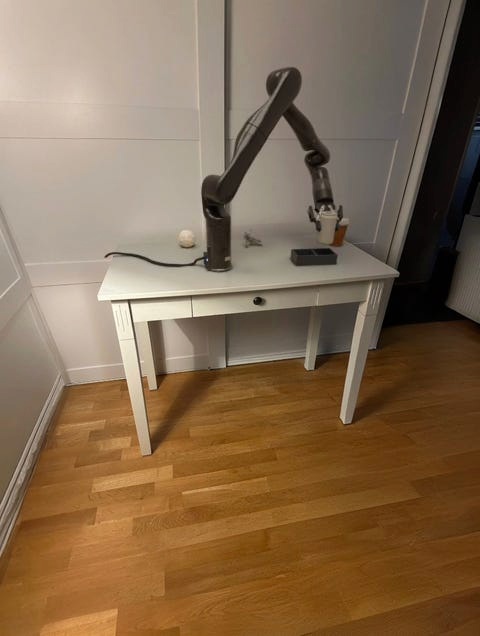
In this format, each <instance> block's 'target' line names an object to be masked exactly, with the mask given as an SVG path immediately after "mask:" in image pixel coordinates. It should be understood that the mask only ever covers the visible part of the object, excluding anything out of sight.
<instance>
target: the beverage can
mask: <svg viewBox="0 0 480 636" xmlns="http://www.w3.org/2000/svg"><path fill="white" fill-rule="evenodd" d="M326 212H327V213H326ZM319 221H320V224H321V231H320V232H318V231H317V237H316V242H317V243H318V244H320V245H322V246H331V245H330V244H331V243H333V239H334V233H335V227H336V221H337V212H336V211H335V212H331V211H324V212H322V214H321V215H320V219H319Z"/></svg>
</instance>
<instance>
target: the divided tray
mask: <svg viewBox="0 0 480 636" xmlns="http://www.w3.org/2000/svg"><path fill="white" fill-rule="evenodd" d="M289 259H290V260H291V262H292V263H293V264H294V266H295V267H304V266H306V267H307V266H326V265H327V266H332V265H333V266H335V265H337V262H338V254H337V253H336V252H335V251H334V250H333V249H332V248H331V247H315V248H314V247H313V248H291V249H290V258H289Z"/></svg>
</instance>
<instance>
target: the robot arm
mask: <svg viewBox="0 0 480 636" xmlns="http://www.w3.org/2000/svg"><path fill="white" fill-rule="evenodd" d="M302 82H303V76H302V73H301V71H300V70H299V68H297V67H295V66H286V67H281V68H278V69H274V70H272V71H271V72H270V73H269V74H268V75H267V77H266V81H265V90H266V94H267V96H268V99H267V101H265V102H264V104H262V105H261V106H260V107H259V108H258V109H257V110H256V111H254V112H253V113H252V114H251V115H250V116H249V117H248V118H247V119H246V120H245V122H244V123H243V125H242V127H241V128H240V130H239V132H238V133H237V135H236V136H235V139H234V144H233V152H232V156H231V160H230V162H229V164H228V166H227V167H226V169H225V171H224V172H223V173H222V174H221V175H220V174H219V175H218V174H208V175H206V176H205V177H204V178H203V180H202V183H201V186H200V197H201V206H202V214H203V217H204V220H205V235H206V239H205V240H206V242H205V243H206V251H203V253H202V255H203V256H201V257H198V258H196V259H194V260H193V262H189V263H169V262H167V263H166V262H160V261H157V260H154V259H151V258H149V257H147V256H144V255H141V254H137V253H131V252H121V251H112V252H108V253H106V254H105V255H104V256H103V258H104V259H107V258H109V257H110V256H112V255H121V256H127V257H128V256H129V257H135V258H140V259H143V260H144V261H147V262H150V263H152V264H155V265H159V266H165V267H190V266H191V267H192V266H194V265H196V264H197V262H199V261H203V265H206V266H207V267H206V268H207V271H212V272H218V273H219V272H227V271H229V270H231V269H232V216H231V214H230V213H229V212H228V210H227V209H226V207H225V206H227V205H229V204H230V203H231V202H232V201H233V200H234V198H235V197H236V195H237V193H238V191H239V189H240V186H241V185H242V183H243V180H244V178H245V177H246V175H247V173H248V171H249V169H250V168H251V166H252V164H253V163H254V161H255V159H256V158H257V156H258V155H259V153H260V152H261V151H262V150H263V149H262V148H263V147H264V146H265V144H266V142H267V141H268V139H269V137H270V135H271V134H272V132H273V131H274V130H275V128H276V126H277V124H278V123H279V122H280V120H281V118H282V117H283V119H284V120H285V121H286V123H287V124H288V126H289V127H290V129H291V131H292V132H293V134H294V136H295V138H296V140H297V142H298V144H299V146H300V148H301V150H302V151H303V152H307V153H306V154H305V155H304V157H303V163H304V166H305V168H306V169H307V172H308V173H309V176H310V180H311V181H310V182H311V192H312V193H311V195H312V198H313V205H314V206H312V205H309V206H308V207H307V210H306V211H307V215H308V219H309V222H310V223H314V226H315V230H316V231H317V233H318V232H320V231H321V224H320V215H321V214H322V212H324V211H331V212H336V213H337V214H336V215H337V221H336V227H335V231H338V229H339V228H340V226H339V222H340V221H341V220H342V219H343V217H344V210H343V205H341V204H340V205H339V206H338V205H336V204H335V202H334V201H335V199H334V194H333V189H332V183H331V181H330V175H329V171H328V168H327V167H325V165H327V164H328V163H330V160H331V153H330V150H329V149H328V147H327V146H326V145H325V144H324V143H323V142H322V141H321V140H320V138H319V136H318V135H317V133H316V130H315V128H314V126H313V124H312V122H311V121H310V120H309V118H308V117H307V116H306V115H305V114H304V113H303V112H302V111H301V110H300V109H299V108H298V107H297V105H295V103H294V101H295V100H296V99H297V97H298V95H299V93H300V91H301V88H302ZM315 213H316V214H317V215H316V217H315ZM326 213H327V212H326Z"/></svg>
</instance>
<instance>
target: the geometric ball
mask: <svg viewBox="0 0 480 636" xmlns="http://www.w3.org/2000/svg"><path fill="white" fill-rule="evenodd" d="M177 239H178V243H179V244H180V245H181V246H182V247H184V248H191V247H193V246H194V245H195V243H196V240H197V239H196V236H195V233H194V232H193V231H191V230H190V229H183V230H181V232H180V233H179V234H178V238H177Z"/></svg>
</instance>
